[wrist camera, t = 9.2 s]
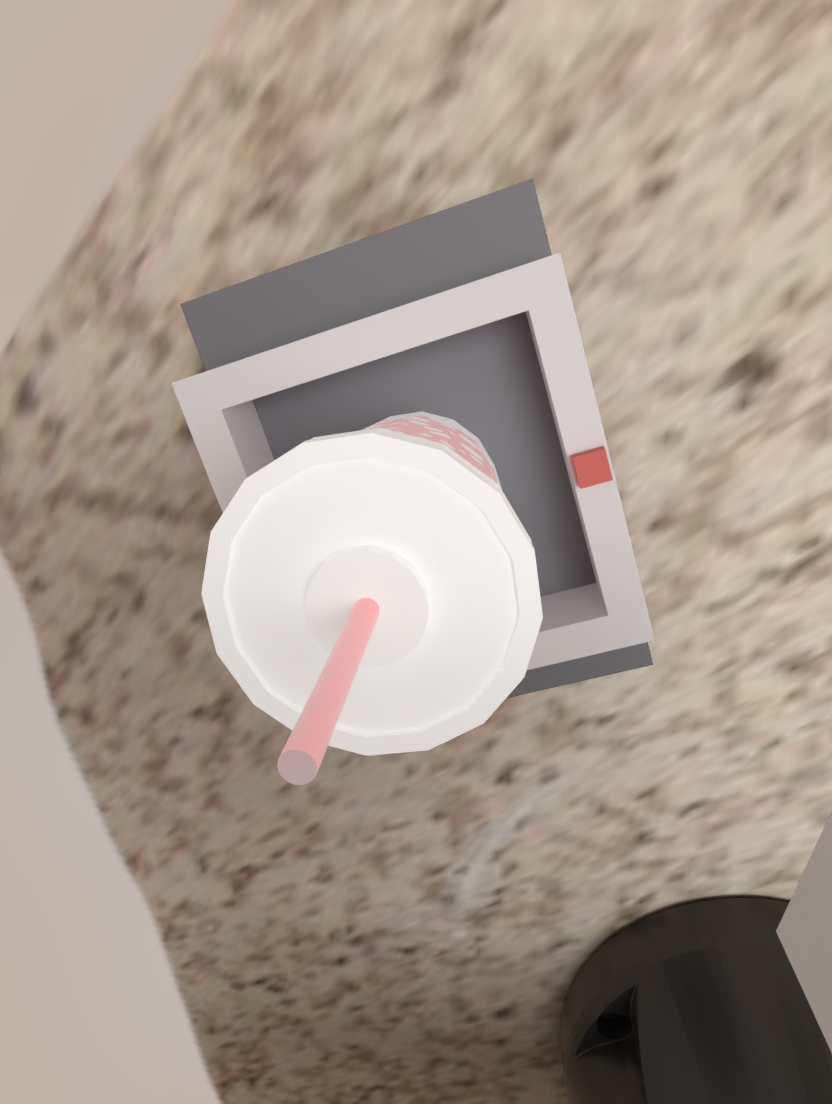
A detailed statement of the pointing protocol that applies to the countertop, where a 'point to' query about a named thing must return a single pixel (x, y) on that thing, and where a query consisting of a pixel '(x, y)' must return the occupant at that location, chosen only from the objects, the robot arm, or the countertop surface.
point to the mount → (439, 396)
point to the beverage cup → (374, 590)
